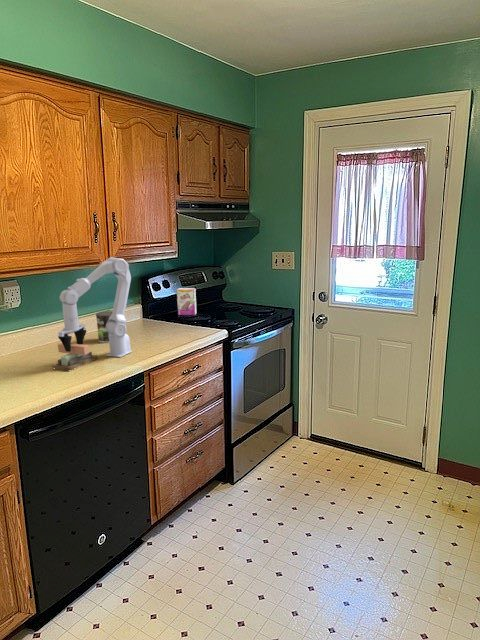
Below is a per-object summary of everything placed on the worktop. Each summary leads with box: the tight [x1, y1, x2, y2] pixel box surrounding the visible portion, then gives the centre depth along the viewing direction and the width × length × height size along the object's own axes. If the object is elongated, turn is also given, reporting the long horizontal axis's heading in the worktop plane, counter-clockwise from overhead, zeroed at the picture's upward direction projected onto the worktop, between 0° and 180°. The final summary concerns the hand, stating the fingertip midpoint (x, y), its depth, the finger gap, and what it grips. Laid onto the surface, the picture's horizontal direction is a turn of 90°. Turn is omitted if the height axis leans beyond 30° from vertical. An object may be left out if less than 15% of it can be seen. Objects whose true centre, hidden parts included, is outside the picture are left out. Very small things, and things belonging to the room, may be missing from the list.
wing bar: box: [57, 342, 90, 355], centre depth 209 cm, size 14×3×4 cm, turn 68°
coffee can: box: [95, 310, 113, 344], centre depth 246 cm, size 10×10×14 cm
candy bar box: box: [176, 287, 198, 316], centre depth 300 cm, size 11×5×16 cm, turn 82°
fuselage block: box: [60, 353, 82, 365], centre depth 210 cm, size 14×3×4 cm, turn 158°
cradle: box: [52, 351, 99, 371], centre depth 210 cm, size 18×9×4 cm, turn 158°
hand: (74, 348), depth 209 cm, fingers open, 7 cm apart
